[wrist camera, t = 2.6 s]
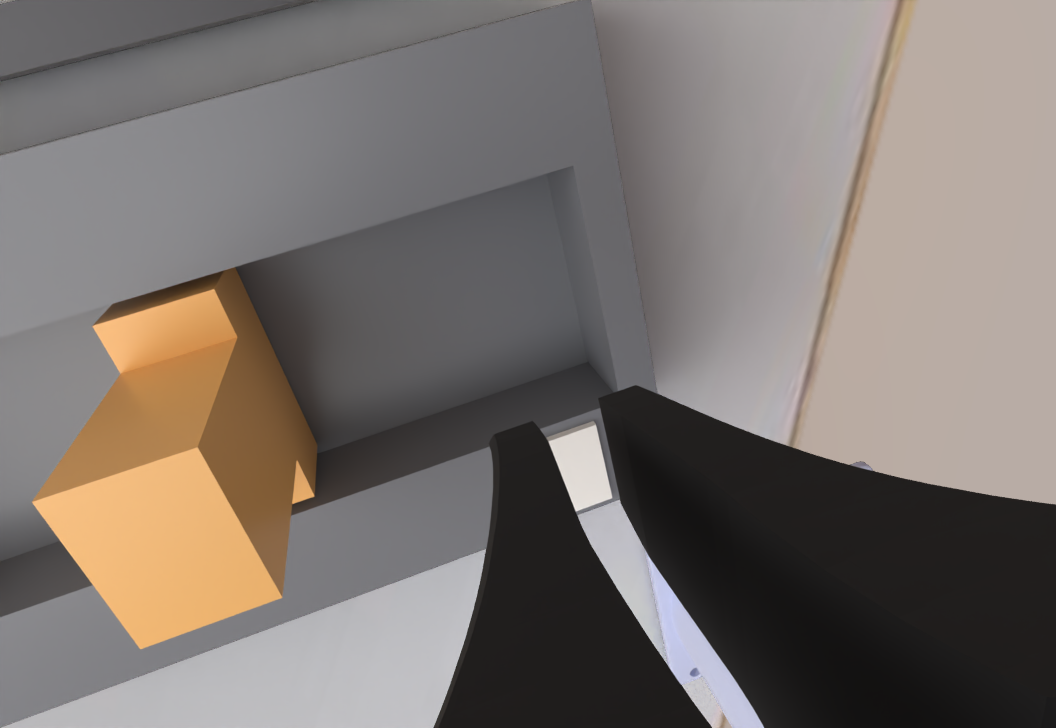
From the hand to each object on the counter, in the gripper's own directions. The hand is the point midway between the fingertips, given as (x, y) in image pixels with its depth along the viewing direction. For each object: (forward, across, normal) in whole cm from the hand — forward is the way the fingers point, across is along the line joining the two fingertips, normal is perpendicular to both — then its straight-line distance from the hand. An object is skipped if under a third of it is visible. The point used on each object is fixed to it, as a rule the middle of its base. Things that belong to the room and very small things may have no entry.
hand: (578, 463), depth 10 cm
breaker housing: (+10, +6, 0) cm, 12 cm away
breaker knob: (+8, +7, 0) cm, 11 cm away
